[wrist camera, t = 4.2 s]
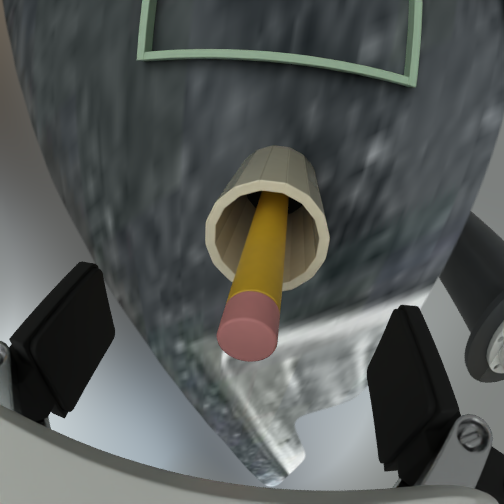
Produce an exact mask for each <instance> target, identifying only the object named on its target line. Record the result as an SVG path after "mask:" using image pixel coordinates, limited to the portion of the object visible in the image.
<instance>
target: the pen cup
mask: <svg viewBox="0 0 504 504" xmlns="http://www.w3.org/2000/svg"><path fill="white" fill-rule="evenodd" d="M257 191H269V192H277V193H283V194H285V195H287V196H289V197H291V198H292V199H294V200H296V201H298V202H300V203H301V204H302V205H303V206H302V207H300V208H299V209H297V210H296V211H294V212H293V213H291V214H288V216H287V231H286V245H285V259H284V272H283V285H282V291H286V290H291V289H293V288H296V287H298V286H299V285H301V284H303V283H304V282H306V281H308V280H309V279H311V278H312V277H313V276H314V275H315V273H316V272H317V271H318V269H319V268H320V267H321V265H322V264H323V263H324V261H325V259H326V255H327V251H328V246H329V241H330V235H329V230H328V226H327V221H326V217H325V212H324V208H323V204H322V199H321V195H320V191H319V187H318V183H317V179H316V175H315V171H314V168H313V166H312V165H311V164H310V163H309V161H308V160H307V159H306V158H305V156H303V155H302V154H300V153H299V152H297V151H295V150H293V149H292V148H289V147H283V146H269V147H265V148H262V149H258V150H256V151H255V152H254V153H253V154H251V155H250V156H249V157H248V158H246V159H245V161H244V162H243V163H242V165H241V166H240V168H239V169H238V171H237V172H236V173H235V175H234V176H233V178H232V179H231V181H230V182H229V183H228V185H227V186H226V188H225V189H224V191H223V192H222V193H221V195H220V196H219V198H218V199H217V201H216V202H215V204H214V206H213V208H212V210H211V212H210V214H209V216H208V218H207V220H206V232H205V244H206V247H207V249H208V252H209V254H210V256H211V259H212V261H213V263H214V265H215V266H216V267H217V268H218V269H219V270H220V271H221V272H222V273H223V274H224V275H225V276H226V277H227V279H229V280H230V281H232V282H233V280H234V277H235V274H236V271H237V268H238V265H239V261H240V258H241V255H242V252H243V249H244V246H245V243H246V239H247V236H248V233H249V230H250V227H251V224H252V221H253V218H254V214H255V211H256V208H255V207H254V206H253V205H252V203H251V202H250V201H249V200H248V198H247V195H246V194H250V193H253V192H257Z"/></svg>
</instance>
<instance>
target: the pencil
mask: <svg viewBox="0 0 504 504" xmlns="http://www.w3.org/2000/svg"><path fill="white" fill-rule="evenodd" d="M288 200H289V196H287V195H285V194H283V193H277V192H269V191H262V193H261V196H260V199H259V202H258V205H257V208H256V211H255V214H254V218H253V221H252V224H251V227H250V230H249V233H248V236H247V239H246V243H245V246H244V249H243V252H242V255H241V258H240V261H239V265H238V268H237V271H236V274H235V277H234V280H233V284H232V287H231V290H230V293H229V296H228V299H227V303H226V306H225V309H224V312H223V315H222V319H221V322H220V325H219V328H218V331H217V340H218V343H219V346H220V347H221V349H222V350H223V351H224V352H225V353H227V354H228V355H229V356H231V357H233V358H235V359H238V360H242V361H259V360H263V359H265V358H267V357H269V356H270V355H271V354H272V353H273V352H274V351H275V349H276V347H277V342H278V331H279V320H280V309H281V297H282V285H283V272H284V259H285V245H286V231H287V216H288Z"/></svg>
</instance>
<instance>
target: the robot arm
mask: <svg viewBox="0 0 504 504" xmlns="http://www.w3.org/2000/svg"><path fill="white" fill-rule="evenodd" d="M114 336H115V328H114V324H113V320H112V316H111V311H110V307H109V303H108V298H107V293H106V289H105V283H104V278H103V273H102V271H101V270H100V269H99V268H98V266H97V265H96V264H93V263H87V262H79V263H78V264H77V265H76V266H75V267H74V268H73V269H72V270H71V271H70V272H69V273H68V274H67V275H66V276H65V277H64V278H63V279H62V280H61V281H60V283H59V284H58V285H57V286H56V287H55V288H54V289H53V290H52V291H51V292H50V293H49V294H48V295H47V296H46V298H45V299H44V300H43V301H42V302H41V303H40V304H39V305H38V306H37V307H36V309H35V310H34V311H33V312H32V313H31V314H30V315H29V317H28V318H27V319H26V320H25V321H24V322H23V323H22V325H21V326H20V327H19V328H18V329H17V330H16V332H15V333H14V334H13V335H12V336H11V338H10V341H11V343H12V345H11V346H10V347H8V346H7V344H6V343H4V342H2V341H0V504H504V454H502V453H501V452H499V451H498V450H496V449H495V448H493V447H492V441H493V437H492V432H491V429H490V427H489V426H488V424H487V423H486V422H485V421H484V420H483V419H481V418H480V417H478V416H476V415H471V414H467V415H463V416H461V414H460V412H459V407H458V404H457V401H456V398H455V395H454V393H453V390H452V387H451V384H450V381H449V379H448V376H447V373H446V371H445V368H444V365H443V363H442V360H441V358H440V355H439V353H438V350H437V348H436V345H435V343H434V340H433V338H432V336H431V333H430V331H429V329H428V327H427V324H426V322H425V320H424V317H423V315H422V313H421V311H420V309H419V307H417V306H409V305H400V306H399V308H398V309H394V310H393V312H392V314H391V317H390V319H389V322H388V324H387V326H386V329H385V331H384V333H383V335H382V338H381V340H380V342H379V344H378V347H377V349H376V351H375V353H374V355H373V357H372V359H371V362H370V364H369V366H368V369H367V380H368V386H369V392H370V398H371V405H372V411H373V418H374V425H375V433H376V440H377V448H378V457H379V461H380V463H384V471H396V470H398V474H399V479H398V481H397V482H396V484H395V485H394V486H393V488H390V489H375V490H349V491H309V490H307V491H306V490H288V489H275V488H274V489H273V488H264V487H254V486H245V485H238V484H232V483H225V482H219V481H213V480H208V479H203V478H197V477H192V476H188V475H183V474H179V473H175V472H170V471H167V470H163V469H159V468H155V467H152V466H148V465H145V464H141V463H138V462H134V461H131V460H128V459H125V458H122V457H119V456H116V455H113V454H110V453H108V452H105V451H102V450H99V449H96V448H94V447H91V446H89V445H86V444H84V443H81V442H79V441H76V440H74V439H71V438H69V437H67V436H65V435H62V434H60V433H58V432H56V431H54V430H51V427H50V423H49V418H48V416H49V414H50V412H52V413H53V414H56V415H58V416H60V417H63V418H65V417H66V415H67V413H68V412H71V411H72V410H73V409H74V407H75V406H76V404H77V402H78V400H79V398H80V396H81V395H82V393H83V391H84V389H85V387H86V385H87V384H88V382H89V380H90V379H91V377H92V375H93V373H94V371H95V370H96V368H97V366H98V365H99V363H100V361H101V359H102V358H103V356H104V354H105V353H106V351H107V349H108V348H109V346H110V344H111V343H112V341H113V339H114ZM486 357H487V362H488V364H489V366H490V368H491V370H492V371H494V372H496V373H504V321H503V322H502V323H501V324H500V326H499V327H498V328H497V330H496V332H495V333H494V335H493V337H492V339H491V341H490V343H489V346H488V349H487V355H486Z"/></svg>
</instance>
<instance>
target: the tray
mask: <svg viewBox="0 0 504 504" xmlns="http://www.w3.org/2000/svg"><path fill="white" fill-rule="evenodd" d="M156 4H157V0H143V1H142V9H141V18H140V27H139V38H138V50H137V60H138V61H156V60H177V59H230V60H251V61H265V62H276V63H286V64H295V65H303V66H310V67H317V68H324V69H330V70H336V71H341V72H347V73H352V74H357V75H362V76H366V77H371V78H375V79H379V80H384V81H388V82H392V83H396V84H399V85H403V86H407V87H416V84H417V75H418V65H419V55H420V42H421V25H422V0H409V17H408V34H407V48H406V59H405V69H404V76H403V75H400V74H396V73H392V72H388V71H384V70H380V69H376V68H372V67H367V66H363V65H358V64H353V63H348V62H343V61H337V60H332V59H326V58H319V57H312V56H305V55H297V54H288V53H279V52H267V51H253V50H230V49H188V50H165V51H152V43H153V32H154V22H155V12H156Z"/></svg>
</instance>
